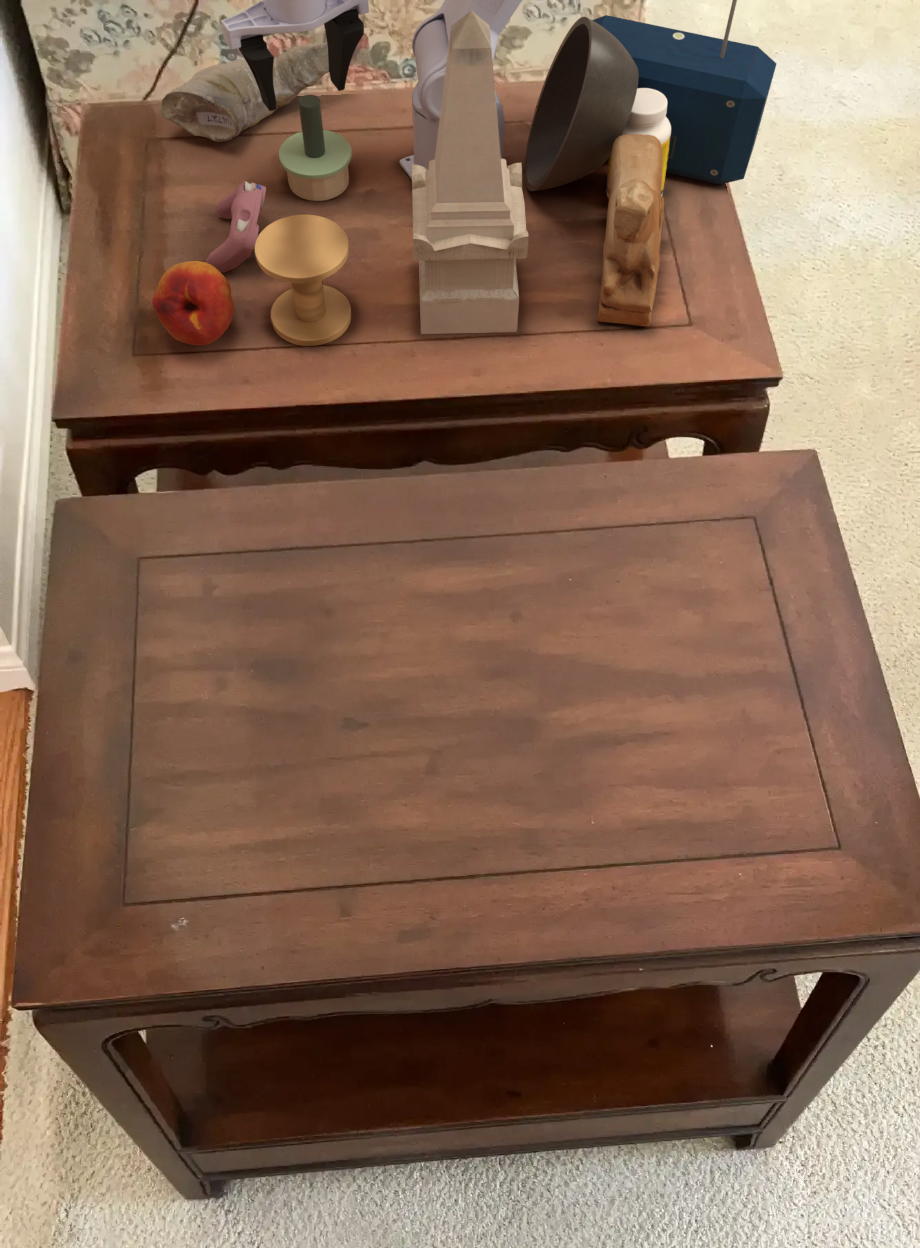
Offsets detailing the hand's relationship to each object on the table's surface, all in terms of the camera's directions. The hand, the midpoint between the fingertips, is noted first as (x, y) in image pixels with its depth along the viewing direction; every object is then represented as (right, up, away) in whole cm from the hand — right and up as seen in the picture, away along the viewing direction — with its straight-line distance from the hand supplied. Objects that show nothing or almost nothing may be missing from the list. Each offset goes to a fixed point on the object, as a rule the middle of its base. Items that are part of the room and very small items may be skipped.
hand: (303, 94), depth 117 cm
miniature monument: (+17, -21, 0) cm, 27 cm away
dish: (0, -5, +9) cm, 10 cm away
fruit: (-10, -25, -3) cm, 27 cm away
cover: (0, -4, +6) cm, 7 cm away
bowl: (+32, -2, +1) cm, 32 cm away
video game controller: (-7, -14, +4) cm, 16 cm away
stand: (+1, -23, -2) cm, 23 cm away
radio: (+38, -1, +12) cm, 40 cm away
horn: (-3, +3, +12) cm, 13 cm away
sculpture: (+34, -18, +2) cm, 38 cm away
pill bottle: (+35, -7, +8) cm, 37 cm away
